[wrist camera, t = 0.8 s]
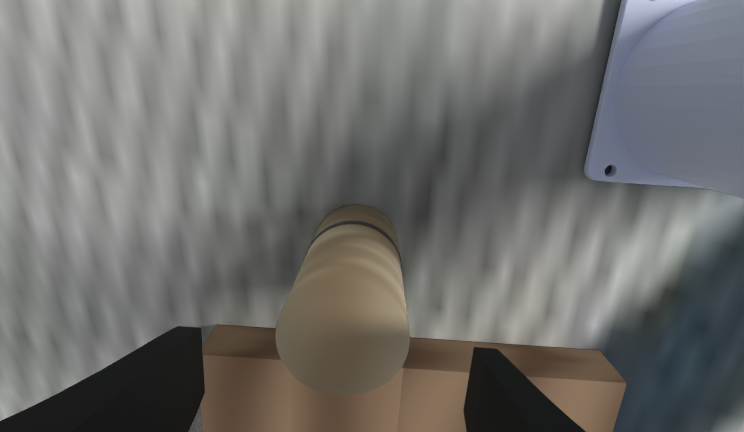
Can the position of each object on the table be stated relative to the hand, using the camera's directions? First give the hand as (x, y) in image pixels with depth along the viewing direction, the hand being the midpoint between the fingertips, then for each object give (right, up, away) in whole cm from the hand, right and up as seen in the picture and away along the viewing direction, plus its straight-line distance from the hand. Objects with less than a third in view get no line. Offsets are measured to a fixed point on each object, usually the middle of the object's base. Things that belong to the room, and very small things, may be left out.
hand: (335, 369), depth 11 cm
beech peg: (0, +3, +9) cm, 9 cm away
